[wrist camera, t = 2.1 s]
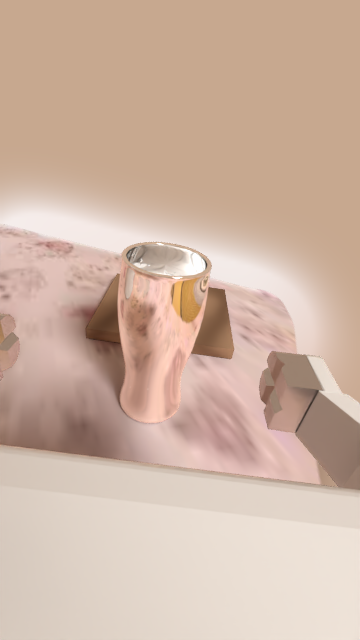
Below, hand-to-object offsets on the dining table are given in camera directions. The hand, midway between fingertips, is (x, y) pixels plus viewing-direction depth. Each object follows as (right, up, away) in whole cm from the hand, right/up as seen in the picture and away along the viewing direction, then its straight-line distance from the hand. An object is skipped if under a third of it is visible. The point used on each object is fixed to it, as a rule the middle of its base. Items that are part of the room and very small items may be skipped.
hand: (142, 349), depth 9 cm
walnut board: (-1, +2, +33) cm, 34 cm away
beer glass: (-2, -7, +20) cm, 21 cm away
